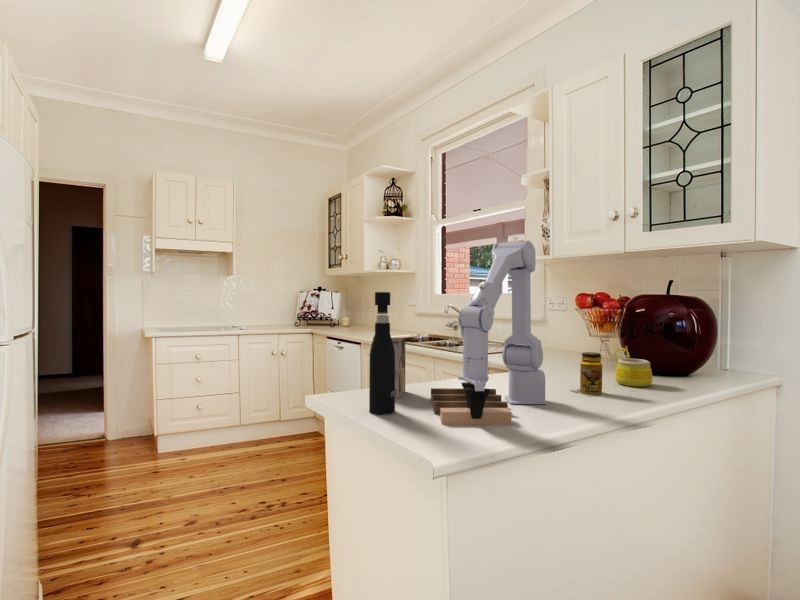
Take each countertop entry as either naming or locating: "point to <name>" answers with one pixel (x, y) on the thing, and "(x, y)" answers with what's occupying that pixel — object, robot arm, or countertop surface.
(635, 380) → the yellow round container
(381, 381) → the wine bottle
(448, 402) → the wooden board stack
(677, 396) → the countertop surface
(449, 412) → the clay strip
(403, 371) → the coffee box
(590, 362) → the condiment
